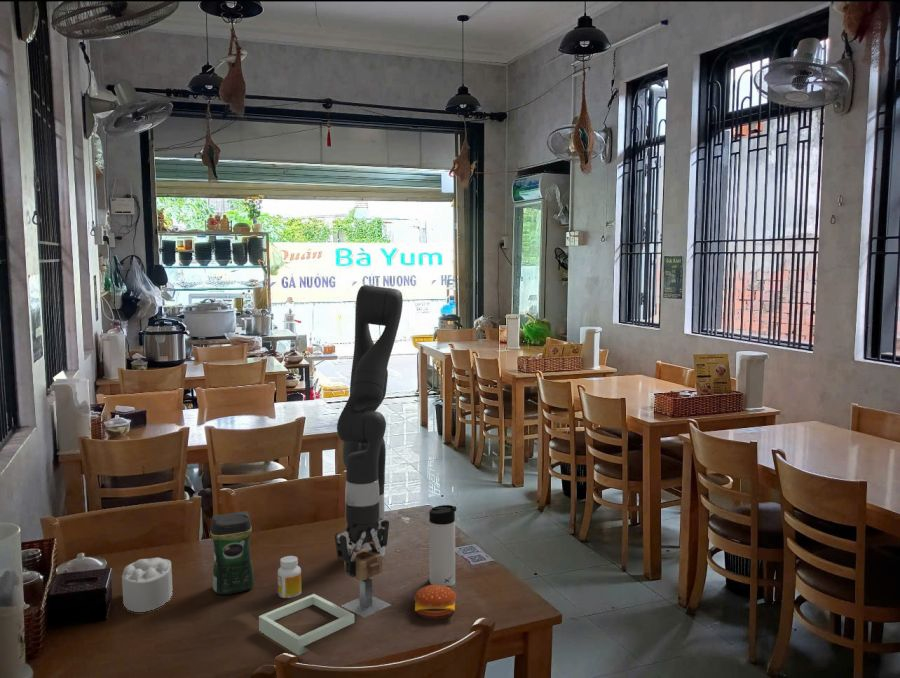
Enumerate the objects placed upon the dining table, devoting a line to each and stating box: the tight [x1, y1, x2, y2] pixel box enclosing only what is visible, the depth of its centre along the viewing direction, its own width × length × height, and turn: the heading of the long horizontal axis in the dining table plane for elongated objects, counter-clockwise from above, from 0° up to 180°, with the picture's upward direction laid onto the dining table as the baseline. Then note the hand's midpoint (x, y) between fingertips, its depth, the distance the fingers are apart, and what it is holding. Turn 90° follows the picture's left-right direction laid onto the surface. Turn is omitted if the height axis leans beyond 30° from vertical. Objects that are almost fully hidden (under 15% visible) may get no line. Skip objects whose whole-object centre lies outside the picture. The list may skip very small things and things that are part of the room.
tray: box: [258, 593, 356, 656], centre depth 154 cm, size 14×14×3 cm
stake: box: [340, 577, 392, 618], centre depth 162 cm, size 8×8×8 cm
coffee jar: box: [209, 510, 255, 595], centre depth 174 cm, size 10×8×19 cm
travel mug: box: [428, 504, 457, 588], centre depth 174 cm, size 6×7×20 cm
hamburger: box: [413, 584, 457, 621], centre depth 160 cm, size 9×10×7 cm
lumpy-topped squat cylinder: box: [121, 557, 173, 612], centre depth 168 cm, size 10×13×9 cm
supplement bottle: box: [277, 555, 302, 599], centre depth 168 cm, size 5×5×10 cm
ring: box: [343, 548, 383, 581], centre depth 161 cm, size 7×6×4 cm
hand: (363, 570), depth 162 cm, fingers closed on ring, 6 cm apart
